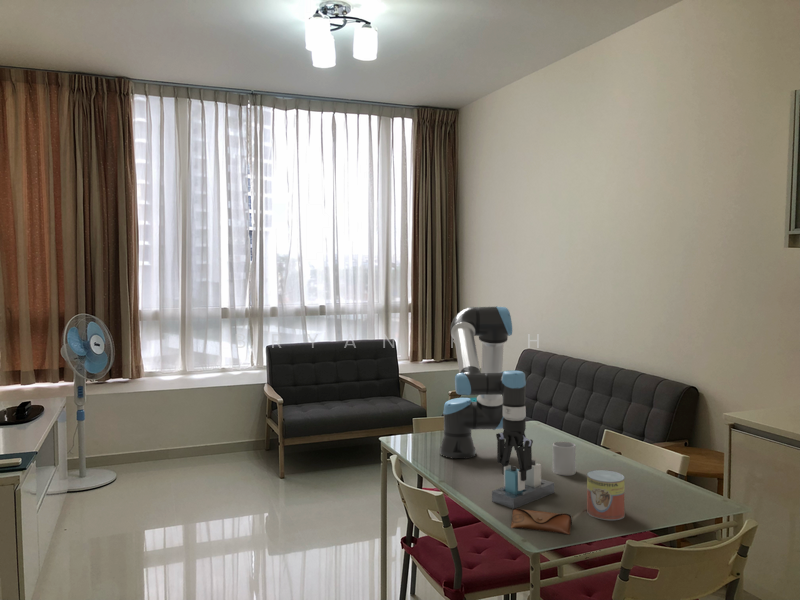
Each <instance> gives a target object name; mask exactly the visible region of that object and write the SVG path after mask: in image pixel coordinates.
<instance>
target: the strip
mask: <svg viewBox="0 0 800 600" xmlns="http://www.w3.org/2000/svg"><path fill="white" fill-rule="evenodd" d="M554 493H555V482H553V481H549V480H548V479H547V480H546V479H543V478H541V485H540V486H537V487H535V488H534V487H531V486H528V485H525V489H524V490H523V492H522V493H519V494H516V495H515V494H512V493H509V492H506V491H505V486H502V487H499V488H497V489H494V490H492V491H491V502H493V503H495V504H498V505H501V506H504V507H507V508H510V509H512V510H513V509H514V508H520V507H522V506H525V505H527V504H529V503H532V502H535V501H537V500H539V499H542V498H545V497H547V496H549V495H552V494H554Z"/></svg>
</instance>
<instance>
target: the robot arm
mask: <svg viewBox="0 0 800 600" xmlns="http://www.w3.org/2000/svg"><path fill="white" fill-rule="evenodd" d="M512 335H513V322H512V315H511V313H510V310H509V309H508V307H505V306H498V305H497V306H469V307H466V308H464V309H462V310H460V311H459V312H458V313H457V314H455V316H454V317H453V319H452V322H451V324H450V336H451V338H452V339H453V340H454V345H455V353H456V360H457V367H458V373H456V374H455V376H454V389H455V393H456V394H457V395H460V396H476V401H472V399H471V398H469V397H457V398H456V397H455V398H452V399H449V400H447V401H445V403H444V405H443V412H442V413H443V438H442V442H441V445H440V448H439V454H440V453H441V454H442V455H444V456H447V457H452V458H451V459H453V458H465V459H470V458H473V457H475V456H476V455H477V453H476V447H475V443H474V440H473V438H472V430H493V431H495V430H501V429H502V430H503V431H502V432H498V433H496V435H495V436H496V440H497V443H496V444H497V447H496V448H497V450H496V452H497V453H496V457H497V459H496V461H497V463H498V464H500V465H501V466H502V467H501V468H502V469H501V470H502V473H501V474H502V476H503V487H505V470H508V469H511V466H512V465H511V463H510V459H511V456H512V452H513V449H514V451H515V453H516V457H517V458H516V459H517V462H518V466H519V467H518V468H519V471H518V491H521V490H524V489H525V480H526V471H527V470H530V469H532V460H533V459H532V458H533V456H532V453H533V452H532V446H533V444H534V443H533V442H534V440H533V439H529V438H527V436H526V432H525V431H526V429H527V428H526V426H527V425H526V422H527V420H526V419H525V418H526V416H527V413H526V412H527V410H526V384H527V381H526V373H525V372H523V371H521V370H504V371H503V361H504V344H505V343H507V342H508V338H509V336H512ZM475 336H476V337H478V340H479V341H480V343H481V344H482V346H481V350H482V351H481V367H480V362H479V356H478V351H477V347H476V346H477V345H476V340H475ZM475 454H476V455H475ZM442 455H441V456H442ZM444 456H443V457H444ZM447 457H446V458H447Z"/></svg>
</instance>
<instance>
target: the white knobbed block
mask: <svg viewBox="0 0 800 600" xmlns="http://www.w3.org/2000/svg"><path fill="white" fill-rule="evenodd" d="M541 479H542V464H541V463H537V462H536V460H534V459H532V469H530V470H527V471H526V480H525V485H528V486H531V487H534V488H535V487H537V486H540V485H541Z"/></svg>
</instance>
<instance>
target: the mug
mask: <svg viewBox="0 0 800 600" xmlns="http://www.w3.org/2000/svg"><path fill="white" fill-rule="evenodd" d="M576 447H577V445H576V444H575V443H573V442H569V441H562V440H561V441H555V442H553V443H552V472H553V474H556V475H559V476H573V475H575V474H576V473H577V471H576V470H577V468H576V465H577V464H576V461H577V460H576V457H577V456H576V455H577V453H576V450H577V448H576Z"/></svg>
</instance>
